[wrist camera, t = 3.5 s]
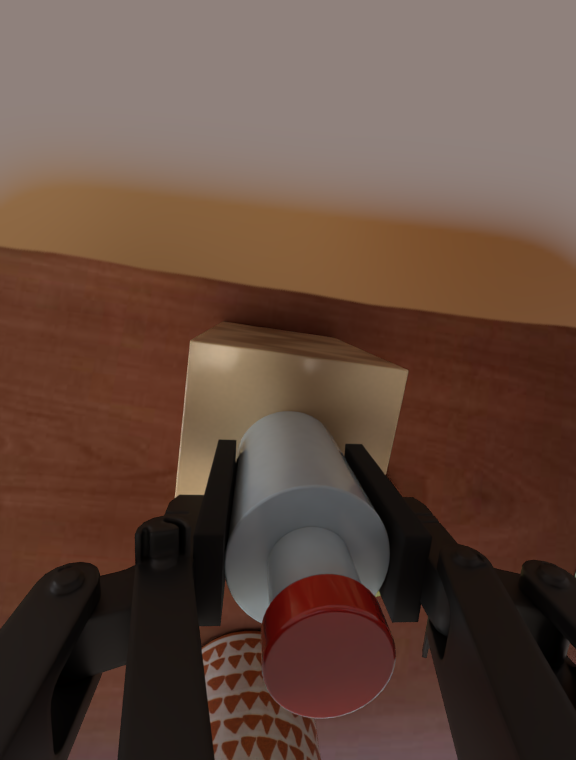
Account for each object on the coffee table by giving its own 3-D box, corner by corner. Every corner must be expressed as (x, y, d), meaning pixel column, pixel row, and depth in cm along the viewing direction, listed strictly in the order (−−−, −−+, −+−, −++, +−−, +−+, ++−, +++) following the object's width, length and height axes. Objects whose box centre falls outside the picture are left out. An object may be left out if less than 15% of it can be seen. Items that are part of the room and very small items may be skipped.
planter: (159, 658, 38) (112, 832, 25) (280, 608, 38) (293, 758, 25) (212, 746, 41) (194, 941, 28) (325, 700, 41) (356, 874, 28)
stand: (334, 337, 32) (409, 370, 17) (316, 442, 34) (368, 559, 19) (222, 321, 31) (189, 339, 16) (209, 430, 33) (169, 544, 17)
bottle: (301, 390, 16) (369, 517, 7) (355, 469, 18) (482, 677, 8) (215, 448, 17) (160, 654, 7) (274, 523, 18) (297, 792, 8)
